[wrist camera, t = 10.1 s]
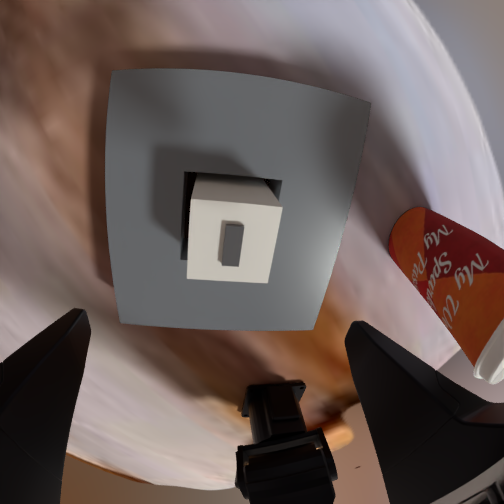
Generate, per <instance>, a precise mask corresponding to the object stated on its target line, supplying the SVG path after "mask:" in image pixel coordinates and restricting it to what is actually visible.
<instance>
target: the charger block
mask: <svg viewBox="0 0 504 504" xmlns="http://www.w3.org/2000/svg"><path fill="white" fill-rule="evenodd" d="M282 209H283V207H282V206H281V204H280V203H279V201H278V200H277V198H276V197H275V196H274V194H273V193H272V191H271V190H270V189H269V187H268V186H267V184H266V183H265V182H264V180H263V179H262V178H259V177H249V176H239V175H228V174H216V173H203V172H198V173H197V177H196V181H195V185H194V189H193V193H192V197H191V206H190V221H189V238H188V260H187V279H198V280H214V281H232V282H251V283H268V279H269V274H270V269H271V264H272V259H273V254H274V249H275V244H276V239H277V234H278V229H279V224H280V219H281V214H282Z"/></svg>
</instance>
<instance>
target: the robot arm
mask: <svg viewBox="0 0 504 504" xmlns="http://www.w3.org/2000/svg"><path fill="white" fill-rule="evenodd" d="M90 336H91V328H90V324H89V320H88V316H87V313H86V311H85V310H84V309H79V308H73V309H72V310H70V311H69V312H68V313H66V314H65V315H63V316H62V317H61V318H59V319H58V320H56V321H55V322H54V323H52V324H51V325H50V326H48V327H47V328H45V329H44V330H43V331H41V332H40V333H39V334H37V335H36V336H35V337H33V338H32V339H31V340H29V341H28V342H27V343H25V344H24V345H23V346H22V347H20V348H19V349H18V350H16V351H15V352H14V353H13V354H11V355H10V356H9V357H7V358H6V359H5V360H4V361H3V362H1V363H0V504H60V496H61V485H62V481H61V480H62V475H63V467H64V461H65V455H66V449H67V443H68V437H69V432H70V427H71V423H72V418H73V413H74V409H75V405H76V401H77V397H78V393H79V389H80V385H81V381H82V378H83V374H84V368H85V363H86V357H87V351H88V346H89V341H90ZM345 347H346V352H347V356H348V360H349V365H350V369H351V373H352V377H353V381H354V384H355V387H356V390H357V393H358V396H359V399H360V402H361V405H362V408H363V411H364V414H365V418H366V421H367V424H368V427H369V430H370V433H371V437H372V440H373V443H374V447H375V450H376V454H377V457H378V460H379V464H380V468H381V471H382V474H383V479H384V482H385V487H386V490H387V494H388V498H389V502H390V504H504V403H492V402H489V401H486V400H484V399H482V398H480V397H479V396H477V395H475V394H473V393H472V392H470V391H468V390H466V389H465V388H463V387H461V386H460V385H458V384H456V383H454V382H453V381H452V380H450V379H448V378H447V377H445V376H444V375H442V374H441V373H440V372H438V371H437V370H436V371H435V369H434V368H432V367H431V366H429V365H428V364H426V363H425V362H424V361H422V360H421V359H419V358H418V357H416V356H415V355H413V354H412V353H410V352H409V351H407V350H406V349H405V348H403V347H402V346H400V345H399V344H397V343H396V342H394V341H393V340H391V339H390V338H388V337H387V336H386V335H384V334H383V333H381V332H380V331H378V330H377V329H375V328H374V327H372V326H371V325H369V324H368V323H366V322H365V321H354V322H352V324H351V326H350V328H349V330H348V332H347V335H346V337H345ZM305 389H306V385H305V383H292V384H277V385H252V386H249V387H247V390H246V394H245V399H244V403H243V408H242V412H241V414H242V417H249V418H250V424H251V431H252V437H253V443H254V444H251V445H245V446H243V445H240V446H238V451H237V452H236V460H237V470H236V478H235V486H236V487H237V488H238V489H240V491H241V492H242V495H243V497H244V498H245V499H249V501H250V504H333V502H334V499H335V491H334V488H333V484H332V481H334V480H337V479H338V477H337V470H336V466H335V463H334V459H333V456H332V454H331V451H330V449H329V446H328V443H327V441H326V438H325V436H324V433H323V430H322V428H321V427H319V428H316V429H315V430H312V431H308V432H307V429H306V425H305V422H304V419H303V415H302V412H301V408H300V405H299V401H300V399H301V397H302V395H303V393H304V391H305ZM316 448H318V449H317V450H316Z"/></svg>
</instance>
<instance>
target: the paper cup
mask: <svg viewBox="0 0 504 504" xmlns="http://www.w3.org/2000/svg"><path fill="white" fill-rule="evenodd" d="M389 253H390V255H391V257H392V259H393V261H394V262H395V263H396V264H397V266H398V267H399V268H400V269H401V271H402V272H403V273H404V274H405V275H406V277H407V278H408V279H409V280H410V282H411V283H412V284H413V285H414V286H415V288H416V289H417V290H418V291H419V293H420V294H421V295H422V296H423V298H424V299H425V300H426V301H427V303H428V304H429V305H430V306H431V308H432V309H433V310H434V312H435V313H436V314H437V316H438V317H439V318H440V319H441V321H442V322H443V323H444V325H445V326H446V327H447V329H448V330H449V332H450V333H451V334H452V336H453V337H454V338H455V340H456V341H457V343H458V344H459V346H460V347H461V348H462V350H463V351H464V353H465V354H466V356H467V357H468V359H469V360H470V361H471V363H472V365H473V366H474V370H473V375H474V377H476V378H479V379H481V378H483V379H484V380H485V381H487V382H488V383H491V384H496V383H498V382H500V381H501V380H503V379H504V250H503V249H502V248H500V247H499V246H497V245H496V244H494V243H492V242H491V241H489V240H488V239H486V238H484V237H483V236H481V235H479V234H477V233H476V232H474V231H472V230H470V229H468V228H466V227H464V226H462V225H460V224H458V223H456V222H454V221H452V220H450V219H448V218H446V217H444V216H442V215H440V214H438V213H436V212H434V211H432V210H429V209H427V208H424V207H415V208H412V209H410V210H408V211H407V212H405V213H404V214H403V215H402V216H401V217H400V218H399V219H398V220H397V222H396V223H395V225H394V227H393V229H392V231H391V234H390V238H389Z"/></svg>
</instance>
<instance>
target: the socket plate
mask: <svg viewBox="0 0 504 504" xmlns="http://www.w3.org/2000/svg"><path fill="white" fill-rule="evenodd" d="M370 108H371V103H370V102H367V101H364V100H361V99H358V98H354V97H351V96H348V95H344V94H341V93H337V92H334V91H330V90H326V89H322V88H318V87H314V86H310V85H306V84H301V83H296V82H292V81H287V80H281V79H276V78H270V77H264V76H257V75H250V74H243V73H234V72H225V71H214V70H199V69H170V68H156V69H127V70H113V71H112V74H111V82H110V90H109V100H108V111H107V125H106V146H105V195H106V216H107V231H108V242H109V252H110V261H111V270H112V277H113V284H114V291H115V297H116V303H117V309H118V314H119V320H120V323H125V324H135V325H146V326H158V327H172V328H188V329H209V330H246V331H284V330H313V328H314V325H315V322H316V319H317V316H318V313H319V310H320V307H321V304H322V301H323V298H324V295H325V292H326V289H327V286H328V283H329V280H330V276H331V273H332V270H333V267H334V263H335V260H336V257H337V253H338V250H339V246H340V243H341V239H342V235H343V232H344V228H345V224H346V221H347V217H348V213H349V209H350V205H351V201H352V197H353V193H354V188H355V184H356V180H357V175H358V171H359V166H360V162H361V157H362V152H363V147H364V142H365V137H366V131H367V126H368V120H369V114H370ZM188 172H203V173H216V174H228V175H239V176H249V177H259V178H268V179H270V183H269V189H270V190H271V191H272V193H273V194H274V196H275V197H276V198H277V200H278V201H279V203H280V204H281V206H282V207H283V209H282V214H281V219H280V224H279V229H278V234H277V239H276V244H275V249H274V254H273V259H272V264H271V269H270V274H269V279H268V283H251V282H232V281H214V280H198V279H187V260H188V238H184V234H185V212H186V194H187V180H188Z"/></svg>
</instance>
